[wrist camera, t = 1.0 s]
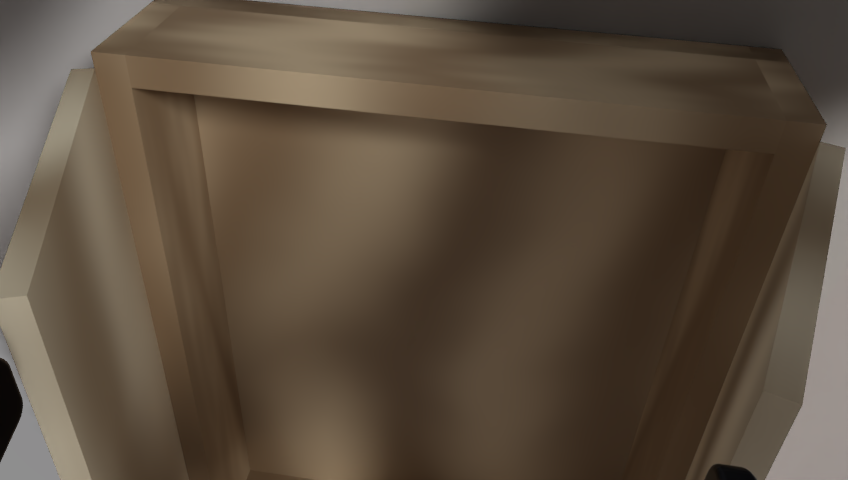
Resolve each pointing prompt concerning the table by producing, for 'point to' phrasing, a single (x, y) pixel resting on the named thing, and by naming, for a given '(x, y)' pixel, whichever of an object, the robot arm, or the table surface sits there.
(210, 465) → the carton
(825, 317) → the table surface
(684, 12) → the table surface
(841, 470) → the table surface
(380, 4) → the table surface
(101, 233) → the flap
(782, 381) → the flap
